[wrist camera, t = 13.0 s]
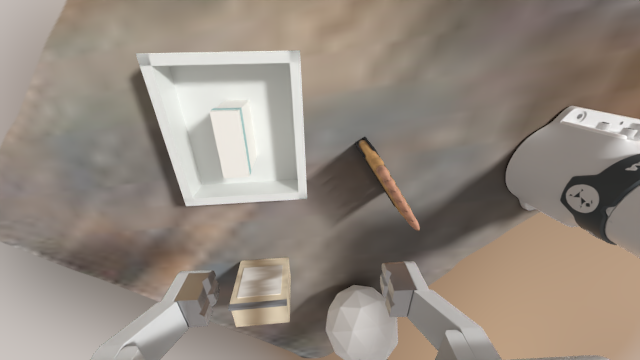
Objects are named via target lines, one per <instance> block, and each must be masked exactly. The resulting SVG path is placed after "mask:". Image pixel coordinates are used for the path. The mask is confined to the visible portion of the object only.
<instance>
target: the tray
mask: <svg viewBox="0 0 640 360" xmlns="http://www.w3.org/2000/svg"><path fill="white" fill-rule="evenodd" d="M136 56H137V59H138V62H139V65H140V68H141V71H142V74H143V77H144V80H145V83H146V86H147V89H148V92H149V95H150V98H151V101H152V104H153V107H154V110H155V113H156V117H157V120H158V123H159V126H160V129H161V132H162V135H163V138H164V141H165V144H166V147H167V150H168V153H169V156H170V159H171V162H172V165H173V168H174V171H175V174H176V177H177V180H178V183H179V186H180V189H181V192H182V195H183V199H184V202H185V205H186V206H197V205H214V204H230V203H246V202H263V201H279V200H296V199H307V185H306V164H305V144H304V124H303V103H302V83H301V62H300V51H247V52H192V53H138V54H136ZM226 100H249V102H250V109H251V117H252V124H253V131H254V138H255V146H256V153H257V157H256V159H255V162H254V165H253V167H252V170H251V174H250V175H249V177H239V178H224V177H223V172H222V168H221V163H220V158H219V154H218V149H217V144H216V140H215V135H214V130H213V126H212V121H211V117H210V111H211V109H213V108H216V107H217V106H219V105H220V104H222V103H223V102H225V101H226Z"/></svg>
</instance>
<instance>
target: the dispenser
mask: <svg viewBox="0 0 640 360" xmlns="http://www.w3.org/2000/svg"><path fill="white" fill-rule="evenodd" d="M290 287H291V277H290V268H289V258H288V257H286V258H273V259H260V260H247V261H241V263H240V266H239V270H238V274H237V278H236V281H235V285H234V289H233V293H232V296H231V300H230V304H229V308H228V310H229V311H232V315H233V318H234V321H235V325H236V327H243V326H254V325H264V324H274V323H285V322H290Z"/></svg>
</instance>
